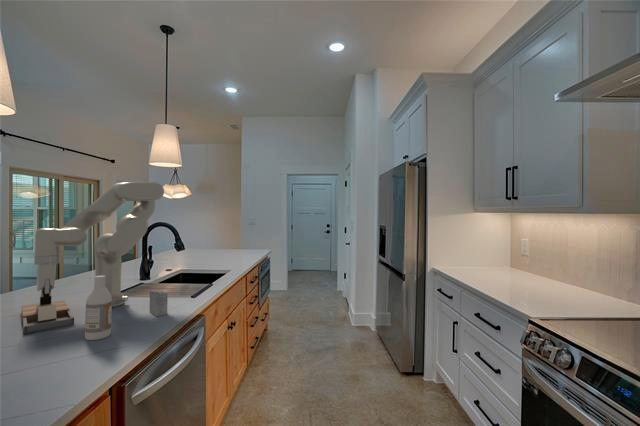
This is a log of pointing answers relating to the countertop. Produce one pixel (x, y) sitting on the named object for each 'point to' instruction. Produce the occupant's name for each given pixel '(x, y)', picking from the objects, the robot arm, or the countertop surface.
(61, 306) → the walnut board
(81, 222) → the robot arm
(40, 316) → the cream tile
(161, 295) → the medicine box
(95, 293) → the bath foam
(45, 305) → the terracotta tile
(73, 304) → the countertop surface
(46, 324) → the tray
